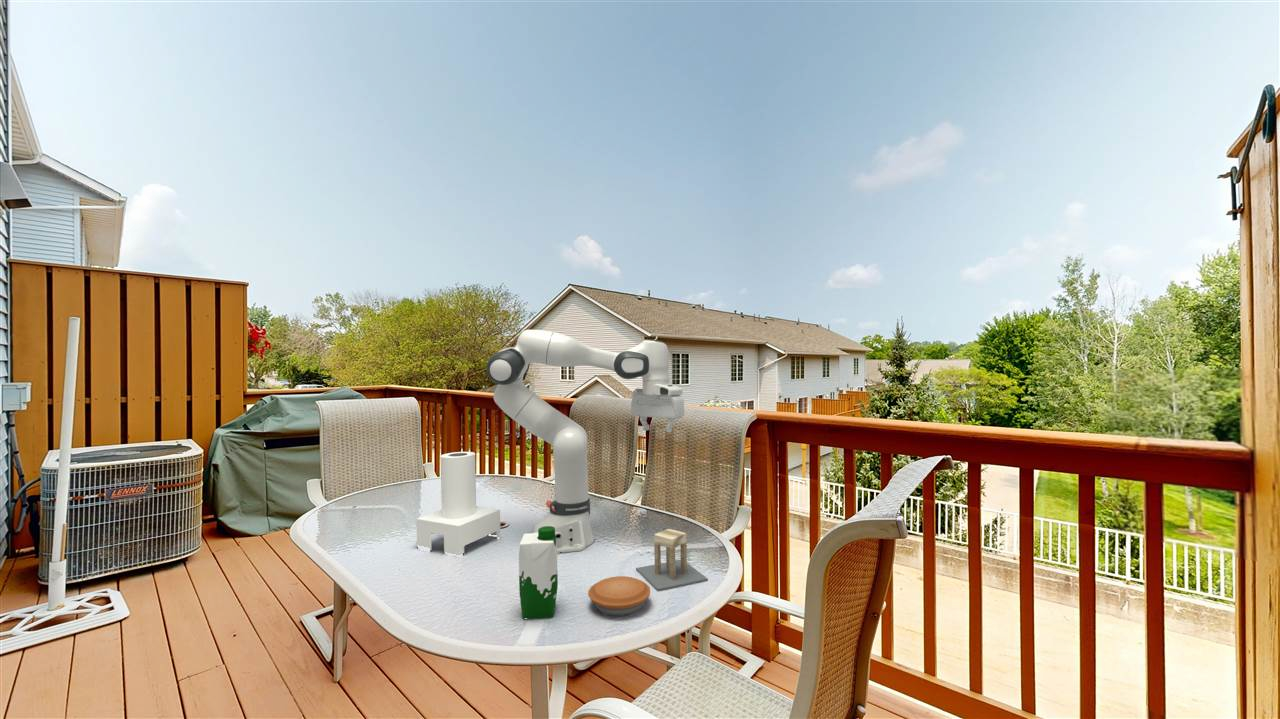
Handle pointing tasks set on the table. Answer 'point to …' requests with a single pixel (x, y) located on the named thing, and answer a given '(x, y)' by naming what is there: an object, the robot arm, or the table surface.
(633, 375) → the robot arm
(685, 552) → the stool
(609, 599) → the pie
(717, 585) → the table surface
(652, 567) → the mat
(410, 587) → the table surface
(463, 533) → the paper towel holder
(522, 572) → the milk carton
